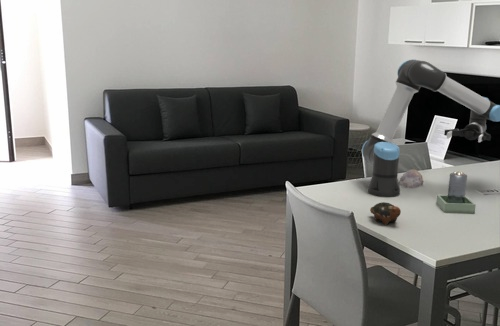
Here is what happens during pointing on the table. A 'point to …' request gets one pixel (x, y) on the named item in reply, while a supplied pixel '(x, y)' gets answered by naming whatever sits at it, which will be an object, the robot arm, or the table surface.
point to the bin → (455, 205)
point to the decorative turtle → (385, 212)
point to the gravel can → (457, 187)
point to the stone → (411, 179)
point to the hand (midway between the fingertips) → (463, 137)
